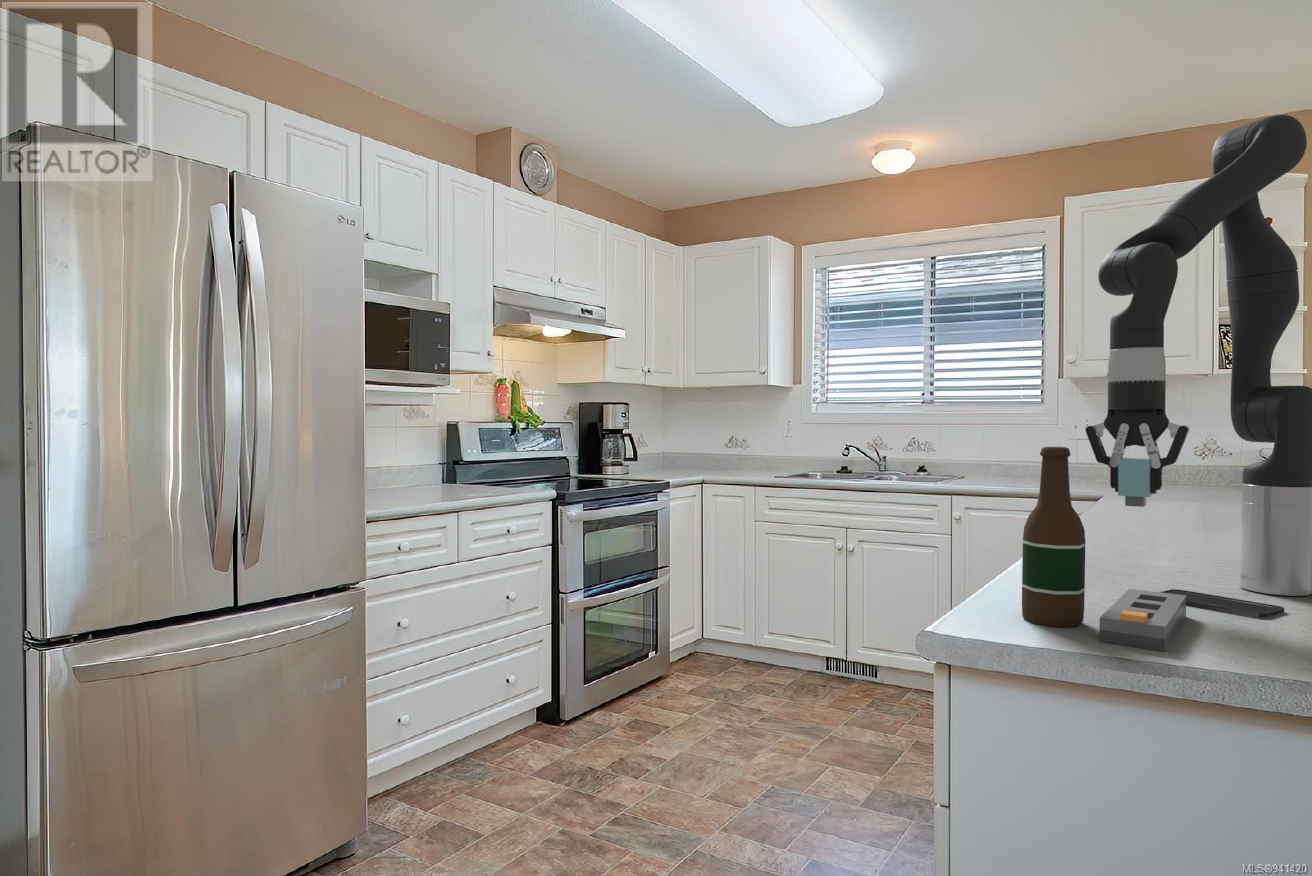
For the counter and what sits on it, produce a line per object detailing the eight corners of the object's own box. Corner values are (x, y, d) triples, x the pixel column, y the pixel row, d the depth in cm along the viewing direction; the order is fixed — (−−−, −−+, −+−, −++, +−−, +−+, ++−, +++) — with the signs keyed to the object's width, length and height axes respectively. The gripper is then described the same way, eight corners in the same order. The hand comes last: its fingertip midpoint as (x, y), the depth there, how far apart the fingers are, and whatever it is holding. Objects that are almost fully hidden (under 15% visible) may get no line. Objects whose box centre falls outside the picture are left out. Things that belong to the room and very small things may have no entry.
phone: (1174, 588, 129) (1287, 607, 117) (1174, 595, 129) (1286, 614, 117) (1149, 594, 125) (1263, 614, 112) (1149, 601, 125) (1263, 622, 112)
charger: (1123, 503, 126) (1123, 457, 125) (1153, 504, 123) (1153, 458, 123) (1118, 506, 122) (1118, 459, 121) (1149, 507, 119) (1149, 459, 119)
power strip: (1129, 609, 118) (1129, 583, 118) (1185, 616, 114) (1186, 589, 114) (1099, 641, 101) (1099, 611, 101) (1164, 651, 97) (1165, 620, 97)
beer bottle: (1079, 616, 114) (1082, 446, 113) (1089, 630, 106) (1092, 448, 106) (1018, 612, 116) (1021, 445, 115) (1024, 625, 109) (1027, 447, 108)
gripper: (1194, 378, 121) (1193, 492, 121) (1088, 381, 129) (1087, 488, 130) (1190, 376, 115) (1189, 497, 115) (1079, 380, 123) (1078, 492, 124)
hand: (1135, 491), depth 122 cm, fingers closed on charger, 4 cm apart
